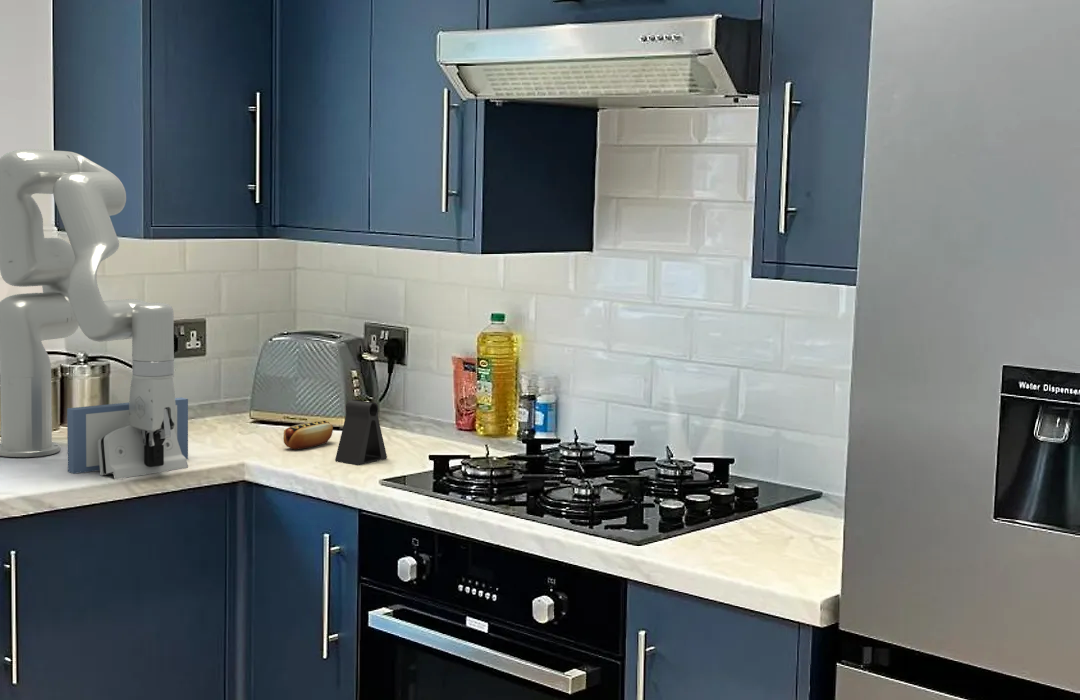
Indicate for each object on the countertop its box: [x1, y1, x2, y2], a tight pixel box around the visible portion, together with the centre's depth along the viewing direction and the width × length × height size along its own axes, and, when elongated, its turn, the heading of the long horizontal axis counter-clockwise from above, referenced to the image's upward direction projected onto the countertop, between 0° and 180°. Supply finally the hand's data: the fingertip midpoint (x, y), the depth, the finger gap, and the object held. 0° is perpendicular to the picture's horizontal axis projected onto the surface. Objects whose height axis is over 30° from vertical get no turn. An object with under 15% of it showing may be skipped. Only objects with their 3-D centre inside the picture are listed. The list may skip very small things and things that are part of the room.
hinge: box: [98, 425, 189, 480], centre depth 272 cm, size 17×5×10 cm, turn 140°
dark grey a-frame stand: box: [334, 398, 388, 466], centre depth 287 cm, size 9×6×12 cm, turn 146°
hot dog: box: [283, 420, 334, 450], centre depth 300 cm, size 5×13×5 cm, turn 150°
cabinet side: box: [66, 397, 189, 474], centre depth 276 cm, size 3×24×12 cm, turn 134°
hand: (154, 465), depth 270 cm, fingers closed
